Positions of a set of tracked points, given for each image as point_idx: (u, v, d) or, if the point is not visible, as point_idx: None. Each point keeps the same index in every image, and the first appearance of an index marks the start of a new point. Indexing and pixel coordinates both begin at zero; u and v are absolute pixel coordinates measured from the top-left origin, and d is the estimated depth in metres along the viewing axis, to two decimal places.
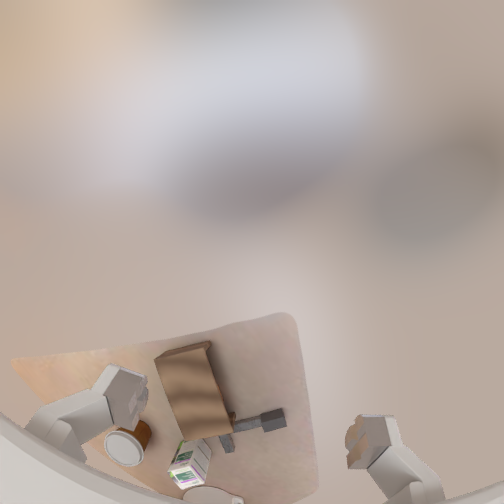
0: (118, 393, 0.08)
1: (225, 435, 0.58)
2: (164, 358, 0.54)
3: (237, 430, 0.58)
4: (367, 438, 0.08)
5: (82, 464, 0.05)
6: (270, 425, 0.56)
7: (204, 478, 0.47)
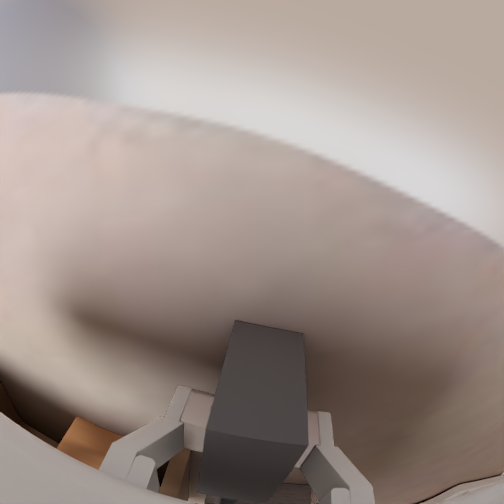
0: (196, 417, 0.08)
1: None
2: None
3: None
4: None
5: (82, 464, 0.05)
6: (236, 484, 0.07)
7: None
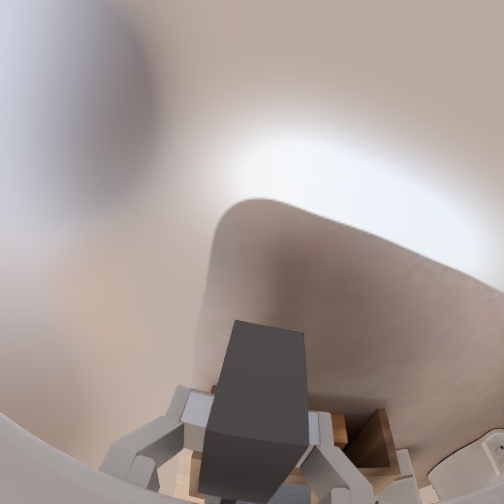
0: (196, 417, 0.08)
1: None
2: (191, 489, 0.22)
3: None
4: None
5: (82, 464, 0.05)
6: (236, 484, 0.07)
7: None
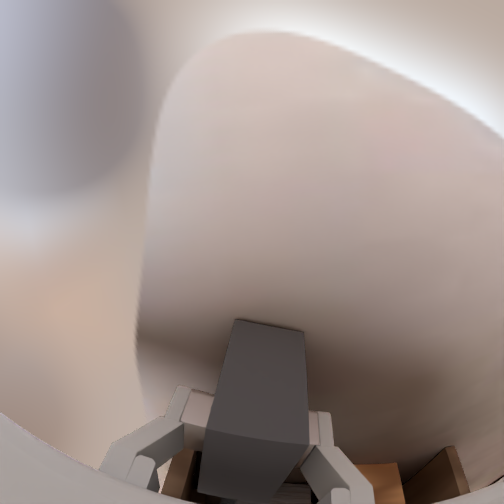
0: (196, 417, 0.08)
1: None
2: None
3: None
4: None
5: (82, 464, 0.05)
6: (236, 484, 0.07)
7: None
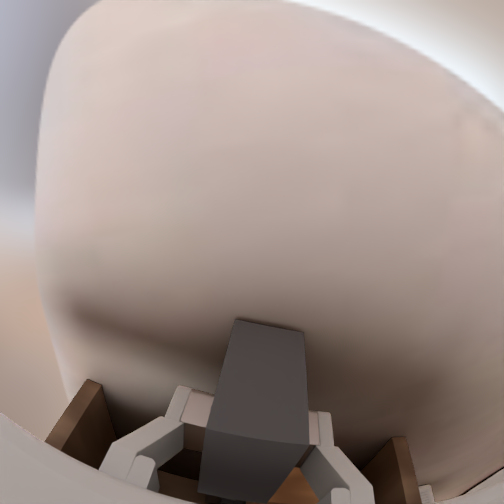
0: (196, 417, 0.08)
1: None
2: None
3: None
4: None
5: (82, 464, 0.05)
6: (236, 484, 0.07)
7: None
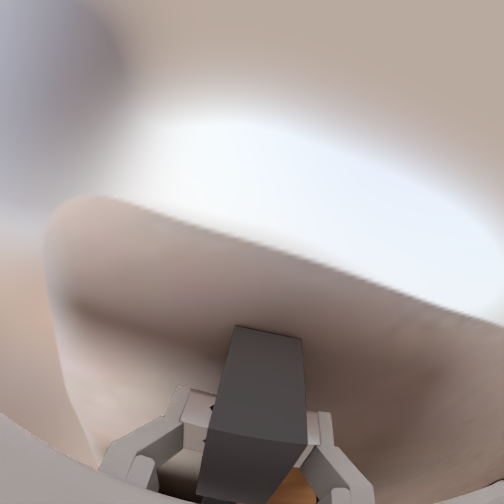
0: (195, 417, 0.08)
1: None
2: None
3: None
4: None
5: (82, 464, 0.05)
6: (235, 485, 0.07)
7: None
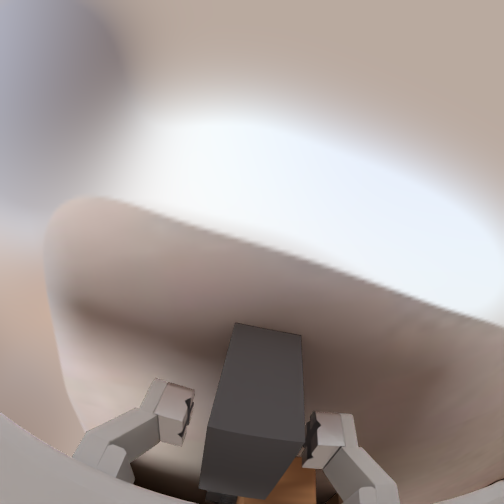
0: (170, 410, 0.08)
1: None
2: None
3: None
4: (317, 436, 0.08)
5: (82, 464, 0.05)
6: (236, 480, 0.08)
7: None
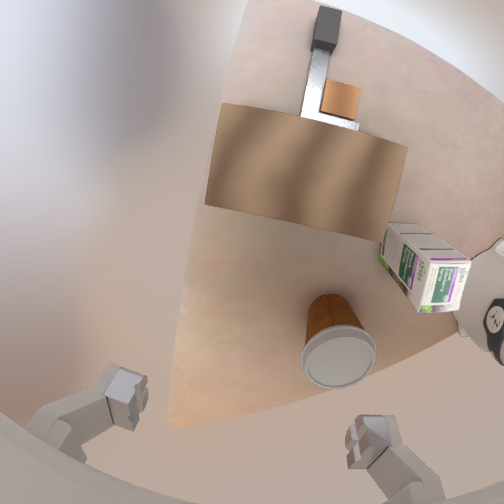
0: (118, 393, 0.08)
1: (318, 115, 0.32)
2: (210, 183, 0.29)
3: (318, 92, 0.31)
4: (367, 438, 0.08)
5: (82, 464, 0.05)
6: (326, 29, 0.25)
7: (461, 255, 0.25)
